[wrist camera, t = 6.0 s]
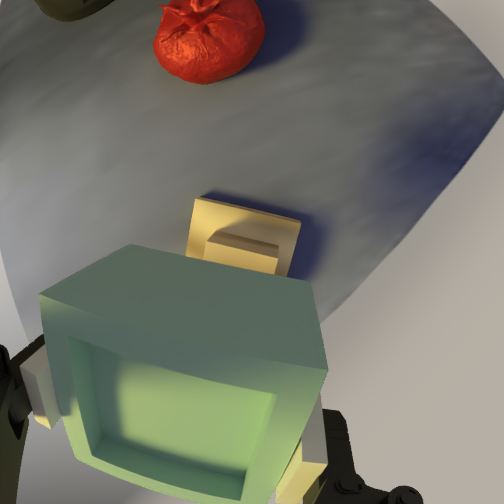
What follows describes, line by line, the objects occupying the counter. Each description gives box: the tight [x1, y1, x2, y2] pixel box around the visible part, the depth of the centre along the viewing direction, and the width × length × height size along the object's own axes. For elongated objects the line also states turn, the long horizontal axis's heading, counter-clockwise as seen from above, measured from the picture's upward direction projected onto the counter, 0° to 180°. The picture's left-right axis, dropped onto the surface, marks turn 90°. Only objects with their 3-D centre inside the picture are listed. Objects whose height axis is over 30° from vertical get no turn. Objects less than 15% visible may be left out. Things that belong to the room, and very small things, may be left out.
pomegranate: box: [153, 0, 265, 85], centre depth 21 cm, size 10×10×9 cm
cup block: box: [39, 244, 328, 504], centre depth 11 cm, size 8×8×6 cm
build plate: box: [186, 197, 301, 277], centre depth 29 cm, size 10×10×6 cm
